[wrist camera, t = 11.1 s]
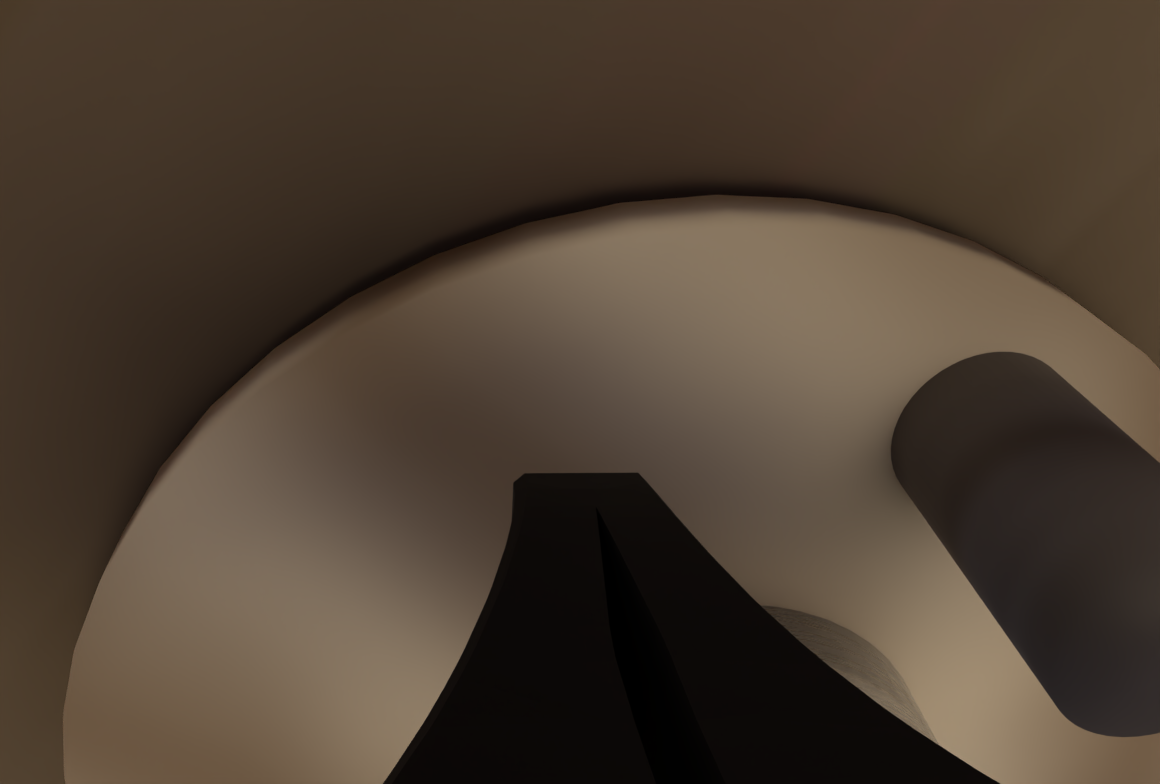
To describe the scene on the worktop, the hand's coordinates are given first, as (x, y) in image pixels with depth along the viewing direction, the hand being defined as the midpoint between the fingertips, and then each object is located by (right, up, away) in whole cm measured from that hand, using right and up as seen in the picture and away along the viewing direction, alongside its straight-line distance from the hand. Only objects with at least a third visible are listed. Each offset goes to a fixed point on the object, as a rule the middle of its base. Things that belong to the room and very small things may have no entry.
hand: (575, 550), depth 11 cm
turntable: (+2, -4, +6) cm, 7 cm away
